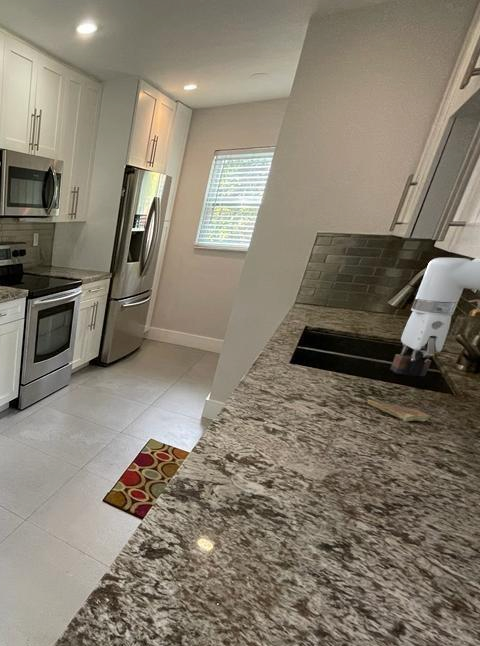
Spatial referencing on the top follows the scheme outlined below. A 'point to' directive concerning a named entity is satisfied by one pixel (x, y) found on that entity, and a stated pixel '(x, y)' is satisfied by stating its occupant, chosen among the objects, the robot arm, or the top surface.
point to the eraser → (401, 363)
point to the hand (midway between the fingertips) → (407, 371)
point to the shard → (399, 411)
